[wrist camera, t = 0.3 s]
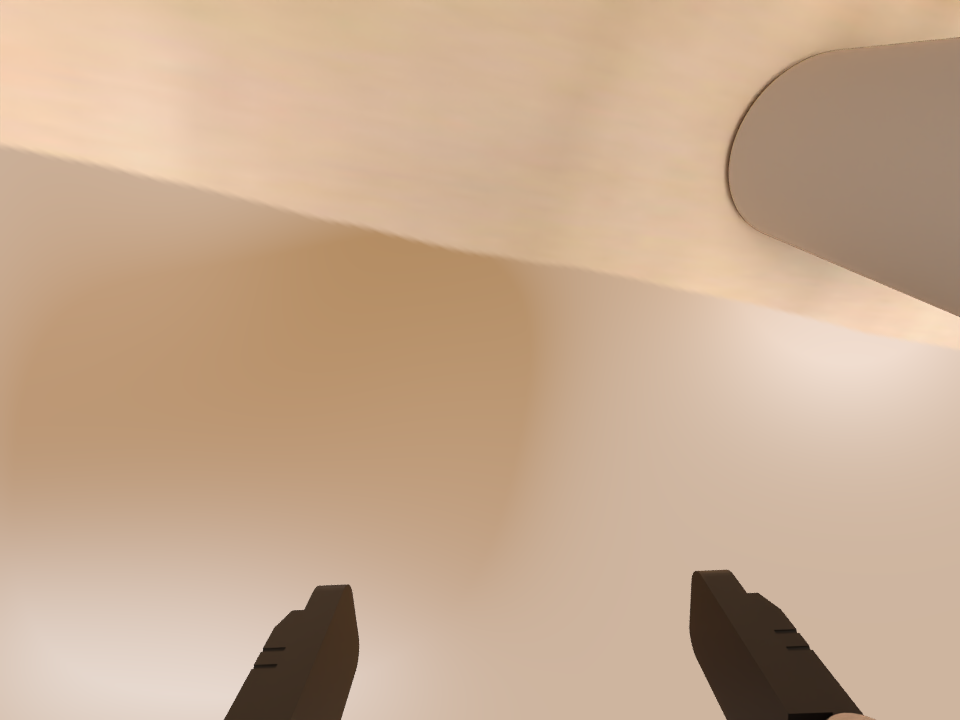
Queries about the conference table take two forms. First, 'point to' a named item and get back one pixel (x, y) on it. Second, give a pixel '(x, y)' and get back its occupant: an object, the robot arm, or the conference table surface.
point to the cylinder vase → (861, 164)
